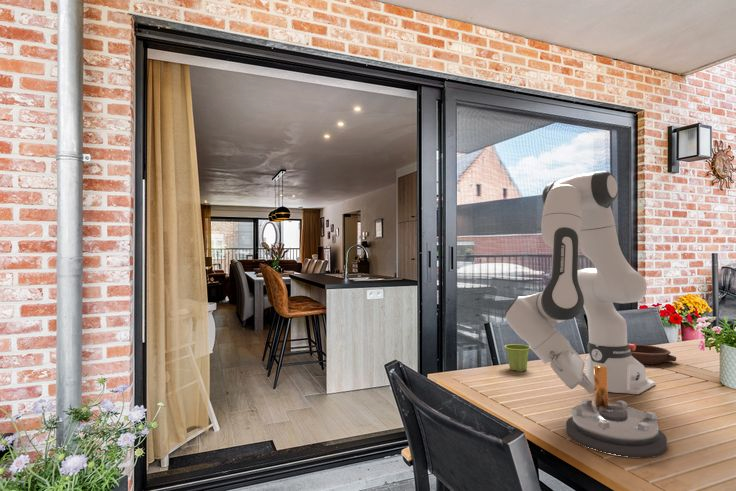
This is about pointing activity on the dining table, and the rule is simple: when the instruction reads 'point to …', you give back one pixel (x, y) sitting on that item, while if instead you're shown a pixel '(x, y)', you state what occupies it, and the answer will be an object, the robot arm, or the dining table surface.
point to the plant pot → (517, 356)
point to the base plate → (618, 449)
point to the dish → (651, 354)
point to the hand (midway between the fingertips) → (592, 390)
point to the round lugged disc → (613, 417)
